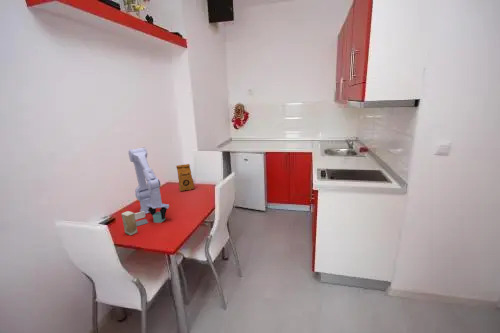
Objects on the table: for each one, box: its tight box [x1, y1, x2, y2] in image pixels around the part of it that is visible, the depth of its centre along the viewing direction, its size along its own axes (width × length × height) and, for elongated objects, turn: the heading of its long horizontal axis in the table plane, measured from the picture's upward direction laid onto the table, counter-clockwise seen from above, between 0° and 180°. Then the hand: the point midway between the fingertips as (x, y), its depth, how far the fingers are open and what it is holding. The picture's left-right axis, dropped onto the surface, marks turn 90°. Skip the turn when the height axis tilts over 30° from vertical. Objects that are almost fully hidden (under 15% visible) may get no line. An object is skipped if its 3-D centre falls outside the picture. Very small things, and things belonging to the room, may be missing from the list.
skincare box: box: [121, 210, 138, 236], centre depth 137 cm, size 6×4×12 cm
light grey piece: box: [134, 211, 146, 221], centre depth 150 cm, size 13×12×4 cm
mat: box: [136, 218, 149, 227], centre depth 150 cm, size 7×7×1 cm
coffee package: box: [175, 163, 195, 192], centre depth 203 cm, size 10×12×22 cm
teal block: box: [152, 211, 166, 224], centre depth 151 cm, size 5×5×5 cm
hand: (159, 218), depth 151 cm, fingers open, 5 cm apart
